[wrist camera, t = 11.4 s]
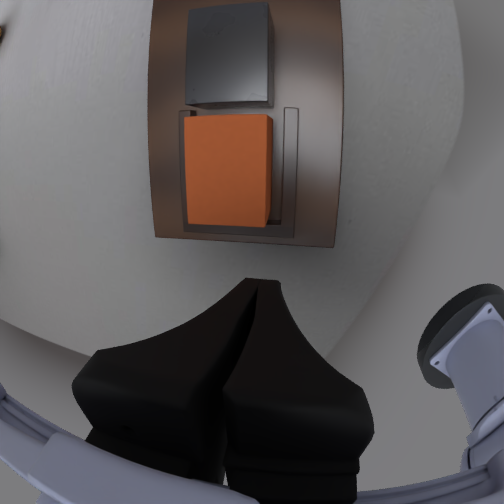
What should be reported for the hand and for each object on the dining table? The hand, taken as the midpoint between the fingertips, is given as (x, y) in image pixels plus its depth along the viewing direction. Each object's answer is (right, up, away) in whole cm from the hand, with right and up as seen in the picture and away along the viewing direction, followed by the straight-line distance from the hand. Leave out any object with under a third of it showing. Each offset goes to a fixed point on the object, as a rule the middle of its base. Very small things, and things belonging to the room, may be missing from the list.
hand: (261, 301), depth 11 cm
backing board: (-1, +23, 0) cm, 23 cm away
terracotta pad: (-1, +7, +6) cm, 9 cm away
